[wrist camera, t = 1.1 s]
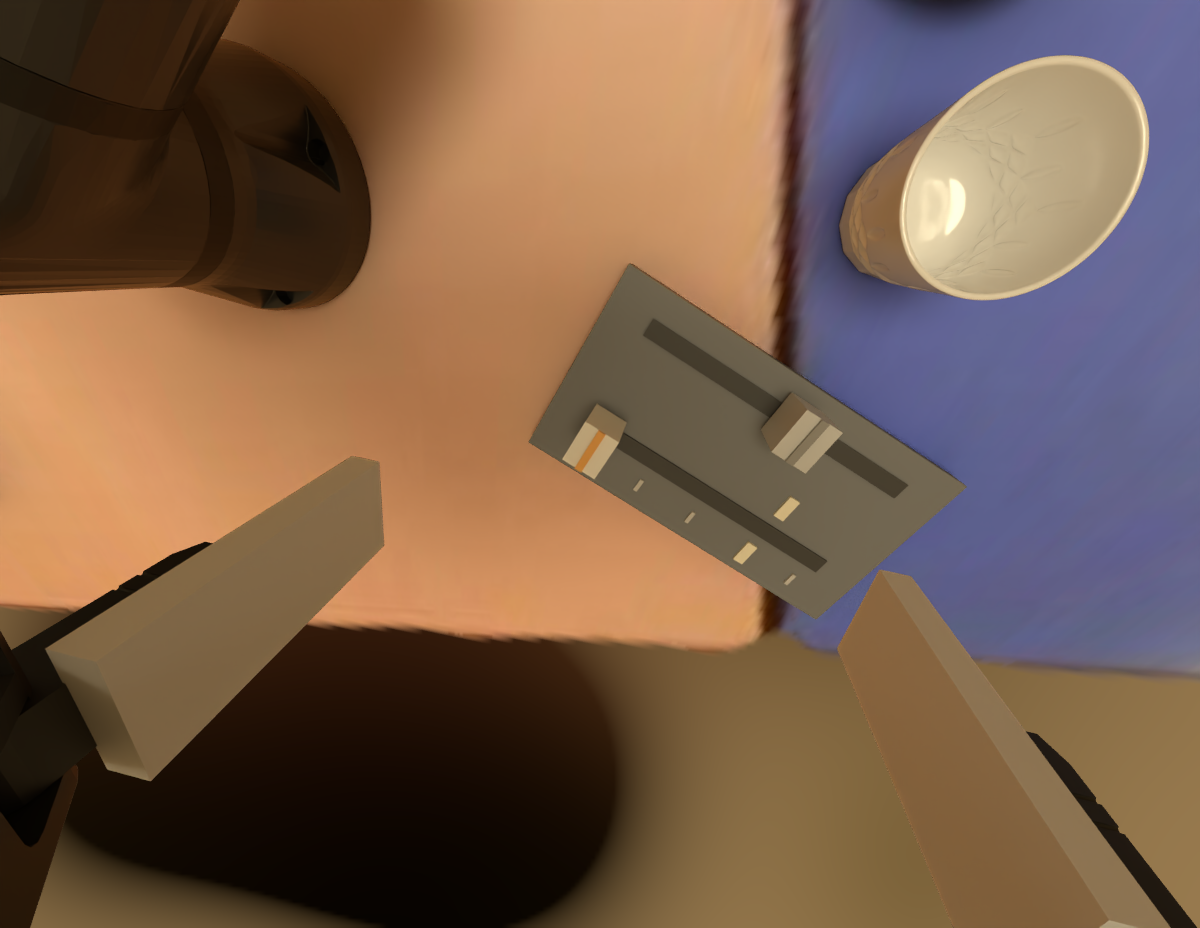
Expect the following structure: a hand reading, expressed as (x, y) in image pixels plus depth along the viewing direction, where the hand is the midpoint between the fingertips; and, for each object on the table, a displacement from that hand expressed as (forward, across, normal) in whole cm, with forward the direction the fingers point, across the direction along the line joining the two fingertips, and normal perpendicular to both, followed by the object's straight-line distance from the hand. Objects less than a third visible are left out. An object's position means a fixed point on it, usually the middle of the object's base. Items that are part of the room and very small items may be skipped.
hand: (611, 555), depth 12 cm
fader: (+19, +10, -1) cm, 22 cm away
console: (+22, +7, -5) cm, 23 cm away
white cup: (+22, +12, +11) cm, 28 cm away
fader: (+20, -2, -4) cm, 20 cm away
